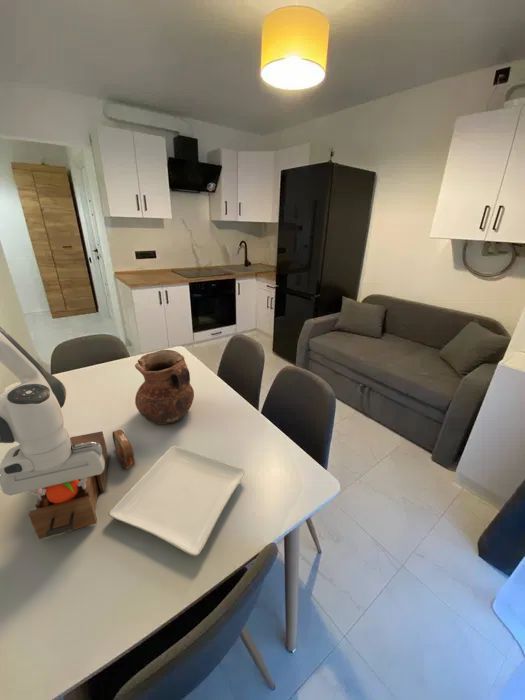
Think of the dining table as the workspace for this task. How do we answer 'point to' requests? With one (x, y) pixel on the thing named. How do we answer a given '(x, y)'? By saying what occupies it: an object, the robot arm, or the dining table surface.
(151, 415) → the jug
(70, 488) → the clementine
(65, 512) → the drawer
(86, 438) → the cabinet
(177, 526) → the square plate
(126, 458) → the tin
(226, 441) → the dining table surface
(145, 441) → the dining table surface
